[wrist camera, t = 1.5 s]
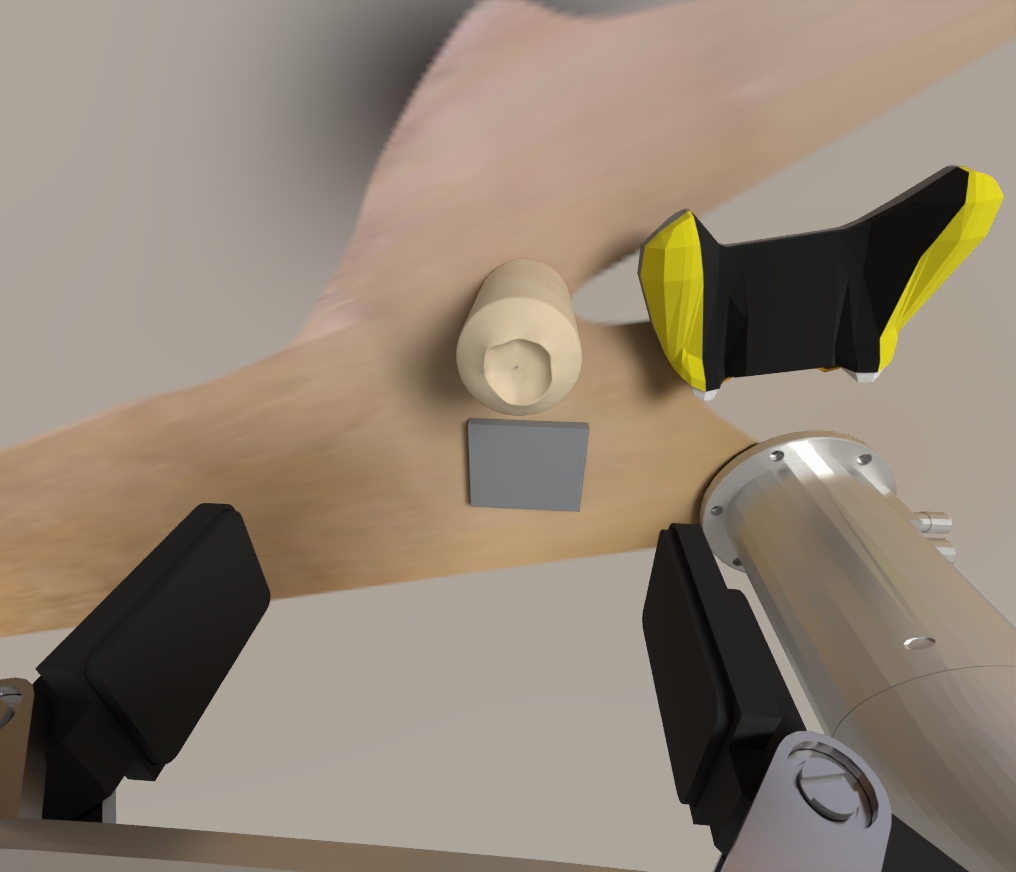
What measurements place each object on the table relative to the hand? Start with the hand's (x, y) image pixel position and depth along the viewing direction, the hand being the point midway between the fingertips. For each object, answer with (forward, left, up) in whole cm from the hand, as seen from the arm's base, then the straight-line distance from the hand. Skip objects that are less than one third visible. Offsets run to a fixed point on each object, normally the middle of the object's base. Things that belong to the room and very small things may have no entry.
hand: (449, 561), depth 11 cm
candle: (-1, 0, -21) cm, 21 cm away
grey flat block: (-2, +11, -20) cm, 23 cm away
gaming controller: (-15, -2, -21) cm, 25 cm away
